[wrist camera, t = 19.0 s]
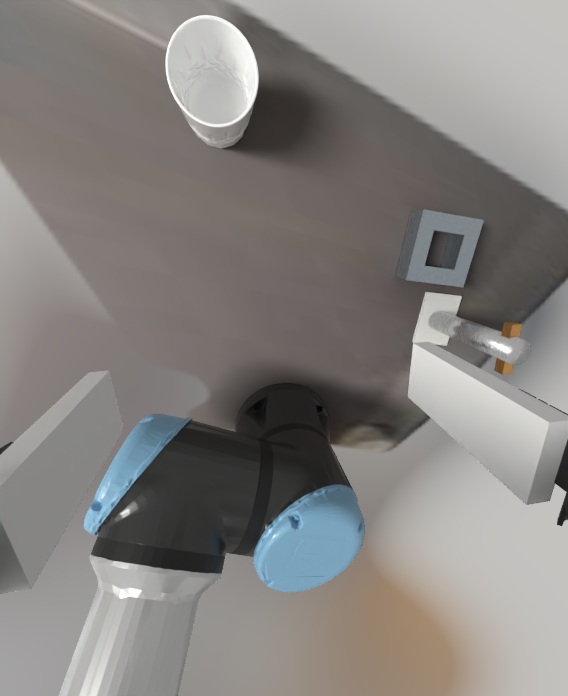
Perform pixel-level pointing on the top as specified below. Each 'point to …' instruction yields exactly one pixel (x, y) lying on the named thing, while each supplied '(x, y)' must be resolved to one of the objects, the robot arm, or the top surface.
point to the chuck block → (456, 252)
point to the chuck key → (485, 339)
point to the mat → (429, 306)
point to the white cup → (213, 78)
